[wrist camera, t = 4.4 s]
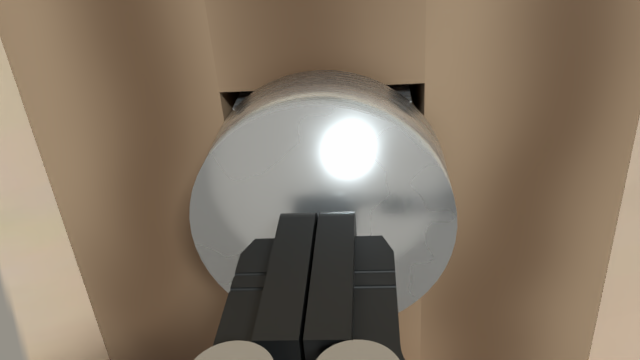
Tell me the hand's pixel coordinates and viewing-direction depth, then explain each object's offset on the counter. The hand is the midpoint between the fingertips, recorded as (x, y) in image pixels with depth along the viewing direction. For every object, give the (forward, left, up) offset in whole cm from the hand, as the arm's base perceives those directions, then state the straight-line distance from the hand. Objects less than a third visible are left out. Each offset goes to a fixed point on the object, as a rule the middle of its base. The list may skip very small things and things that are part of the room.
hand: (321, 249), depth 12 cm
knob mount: (-6, +6, -6) cm, 11 cm away
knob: (0, 0, -6) cm, 6 cm away
